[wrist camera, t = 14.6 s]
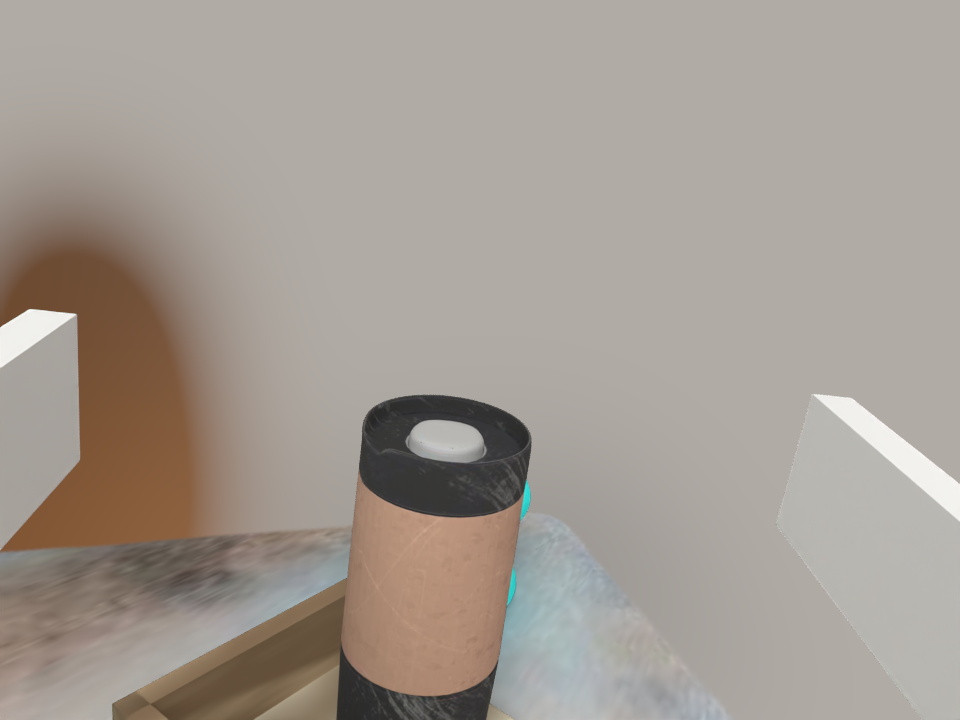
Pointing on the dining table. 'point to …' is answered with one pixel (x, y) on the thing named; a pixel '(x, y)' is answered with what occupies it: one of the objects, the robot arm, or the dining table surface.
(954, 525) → the robot arm
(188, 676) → the corner tray
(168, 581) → the dining table surface
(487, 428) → the travel mug
